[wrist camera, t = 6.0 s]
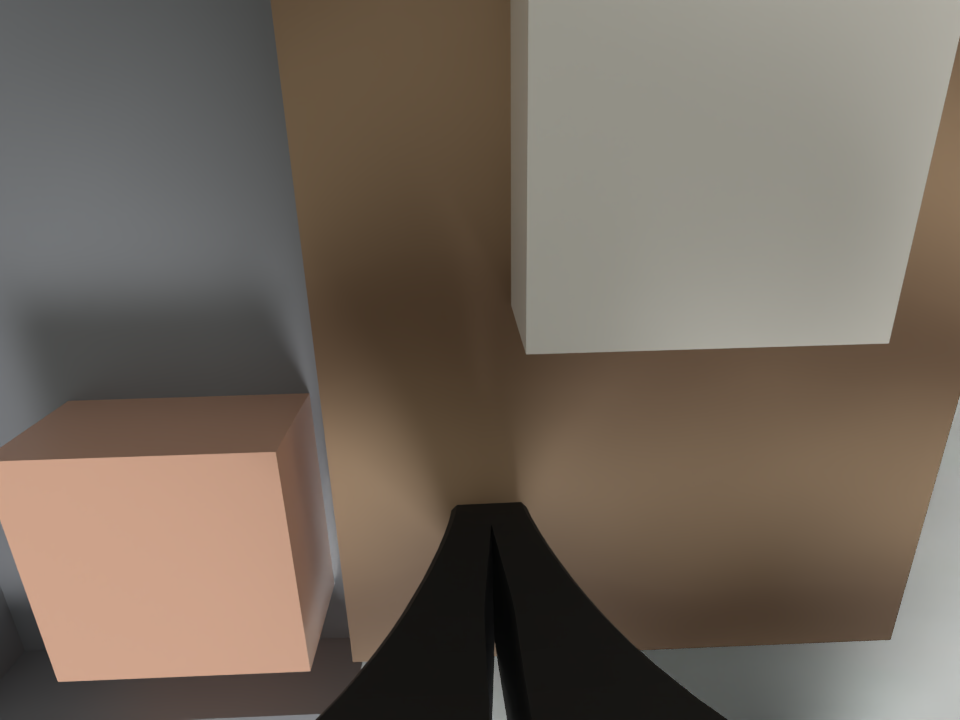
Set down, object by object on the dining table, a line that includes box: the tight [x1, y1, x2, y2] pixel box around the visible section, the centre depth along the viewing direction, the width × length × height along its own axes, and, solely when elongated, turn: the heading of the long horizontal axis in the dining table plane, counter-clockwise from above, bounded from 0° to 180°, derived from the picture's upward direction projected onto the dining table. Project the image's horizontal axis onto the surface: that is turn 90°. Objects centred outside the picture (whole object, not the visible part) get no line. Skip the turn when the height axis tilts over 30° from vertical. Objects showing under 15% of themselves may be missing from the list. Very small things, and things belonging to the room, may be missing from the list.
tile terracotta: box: [0, 393, 334, 682], centre depth 12 cm, size 5×5×2 cm
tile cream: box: [510, 0, 960, 354], centre depth 9 cm, size 5×5×2 cm
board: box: [270, 0, 960, 662], centre depth 12 cm, size 14×12×2 cm
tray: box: [0, 0, 367, 720], centre depth 11 cm, size 17×9×2 cm, turn 1°
